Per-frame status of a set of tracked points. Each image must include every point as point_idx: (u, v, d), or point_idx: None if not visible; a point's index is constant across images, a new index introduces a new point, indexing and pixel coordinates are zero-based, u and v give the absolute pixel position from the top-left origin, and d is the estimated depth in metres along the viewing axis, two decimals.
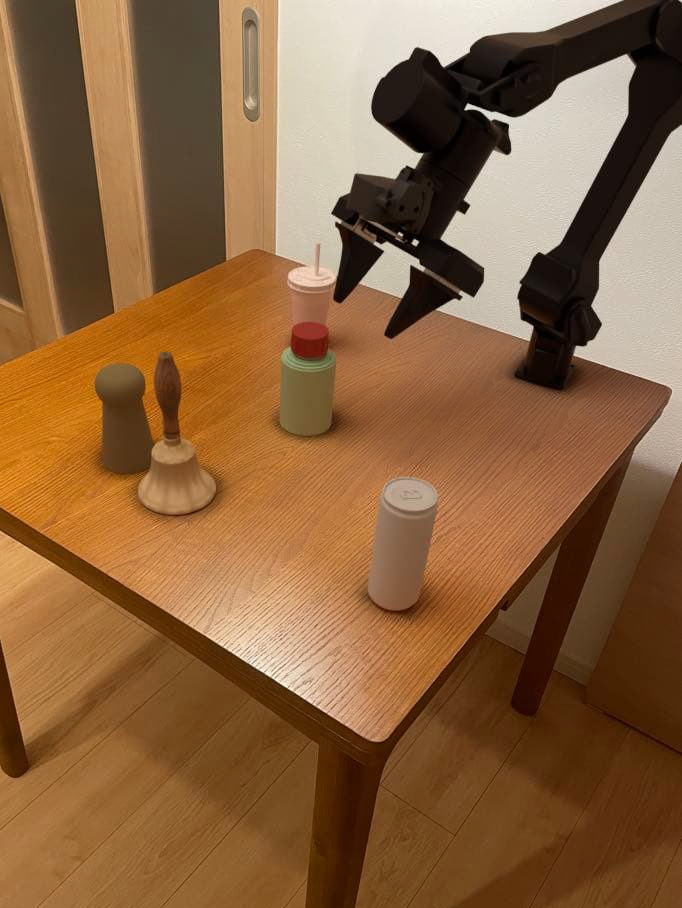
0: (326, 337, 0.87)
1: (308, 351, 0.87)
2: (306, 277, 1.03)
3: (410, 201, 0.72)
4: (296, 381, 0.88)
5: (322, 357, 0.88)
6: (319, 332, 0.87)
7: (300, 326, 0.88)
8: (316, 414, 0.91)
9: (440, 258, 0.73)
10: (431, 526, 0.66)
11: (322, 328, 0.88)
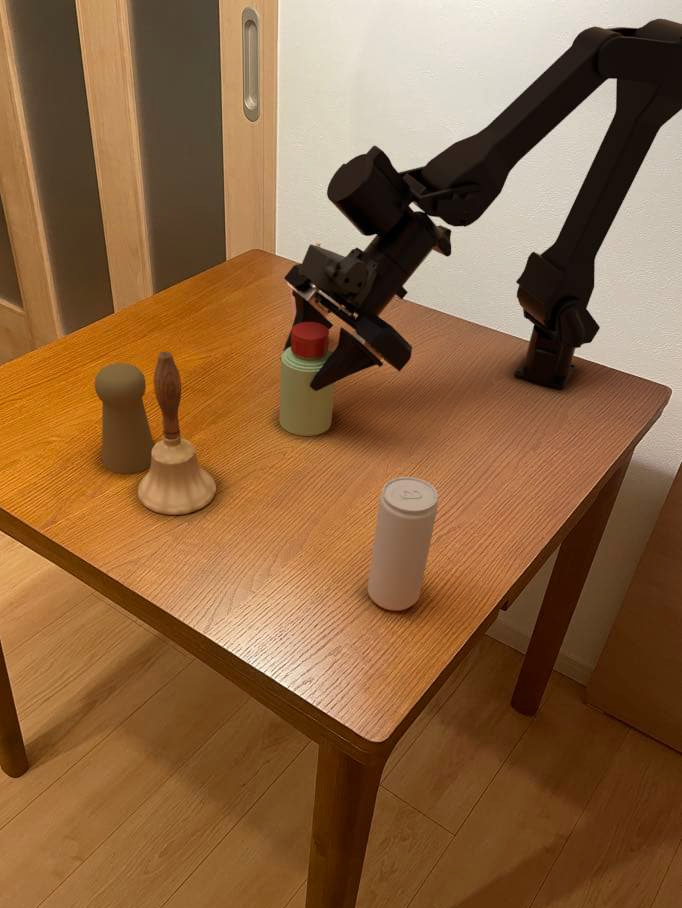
0: (326, 337, 0.87)
1: (308, 351, 0.87)
2: None
3: (355, 276, 0.81)
4: (296, 382, 0.88)
5: (322, 357, 0.88)
6: (319, 332, 0.87)
7: (300, 326, 0.88)
8: (316, 414, 0.91)
9: (374, 330, 0.81)
10: (431, 526, 0.66)
11: (322, 328, 0.88)
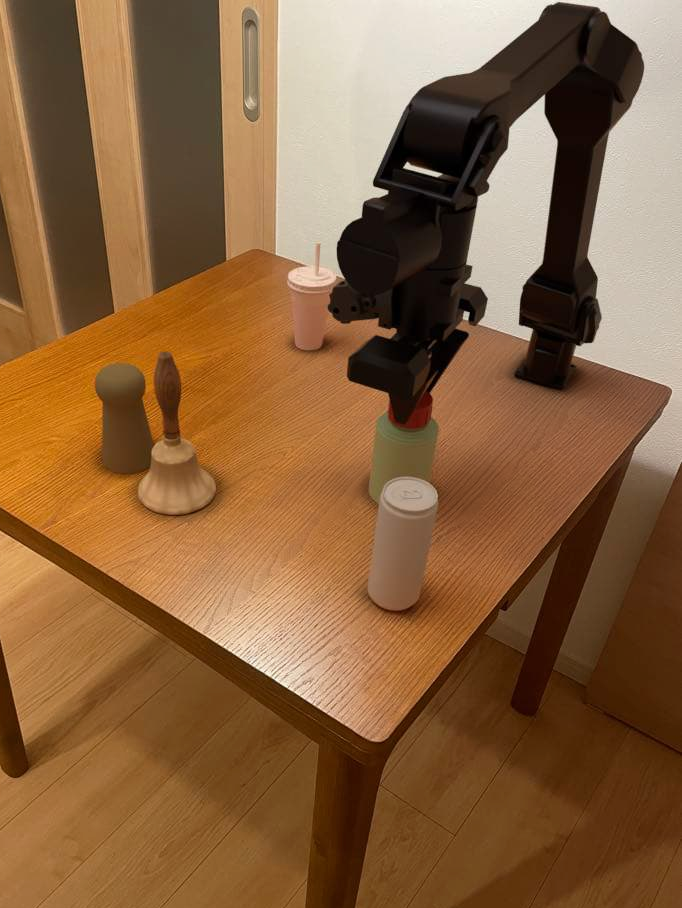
0: (430, 406, 0.77)
1: (410, 422, 0.77)
2: (306, 277, 1.03)
3: (341, 302, 0.70)
4: (395, 454, 0.79)
5: (424, 427, 0.78)
6: (422, 400, 0.77)
7: None
8: None
9: None
10: (431, 526, 0.66)
11: (425, 395, 0.78)
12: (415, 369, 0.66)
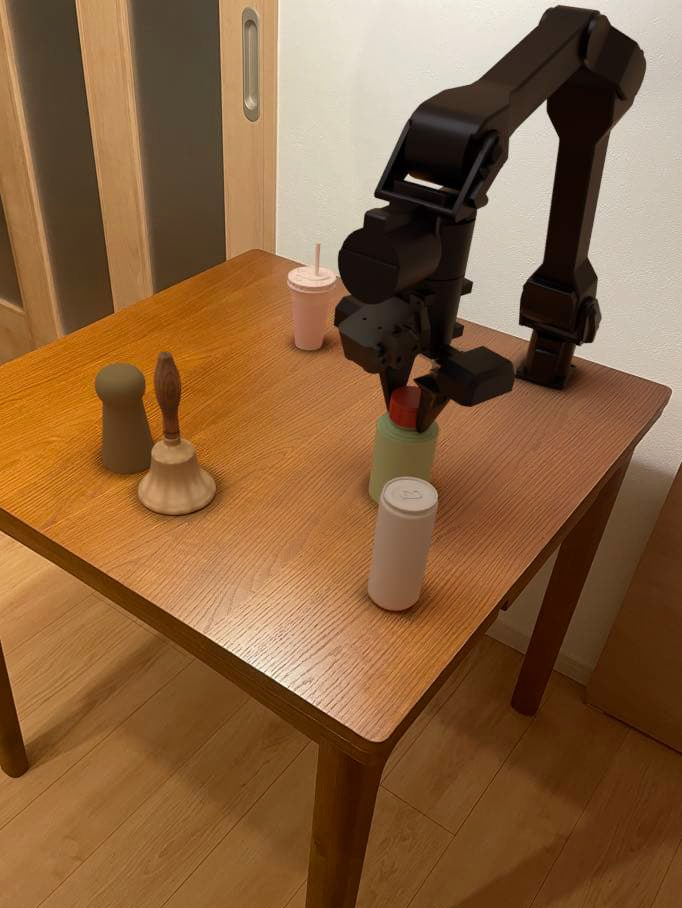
0: None
1: None
2: (306, 277, 1.03)
3: (405, 349, 0.66)
4: (395, 454, 0.79)
5: None
6: (420, 392, 0.78)
7: (400, 399, 0.77)
8: None
9: (459, 389, 0.67)
10: (431, 526, 0.66)
11: (411, 388, 0.79)
12: None
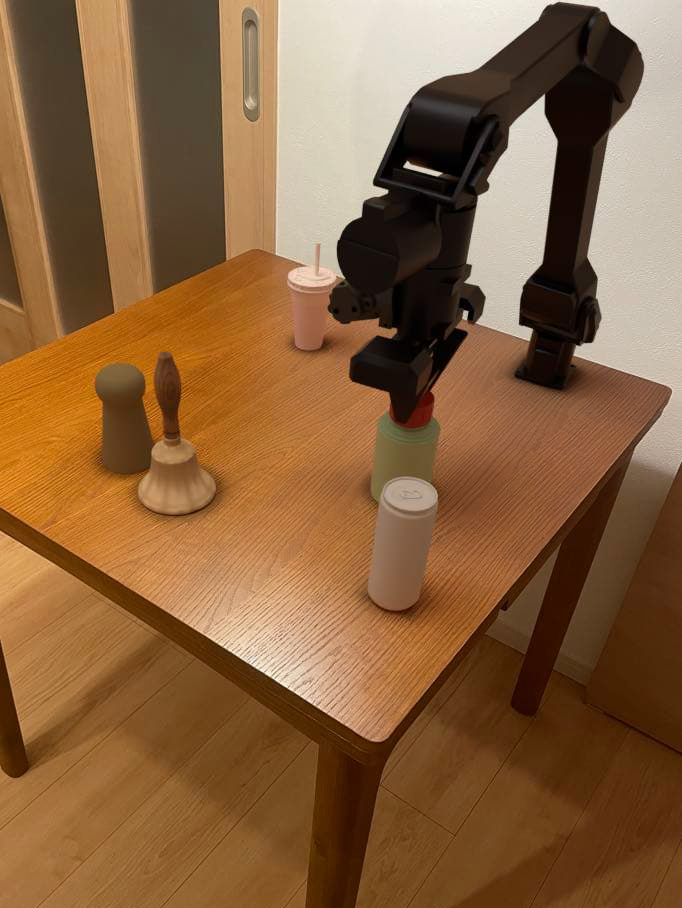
0: None
1: None
2: (306, 277, 1.03)
3: (342, 303, 0.70)
4: (396, 455, 0.78)
5: (425, 427, 0.78)
6: None
7: None
8: None
9: None
10: (431, 526, 0.66)
11: None
12: (418, 369, 0.66)
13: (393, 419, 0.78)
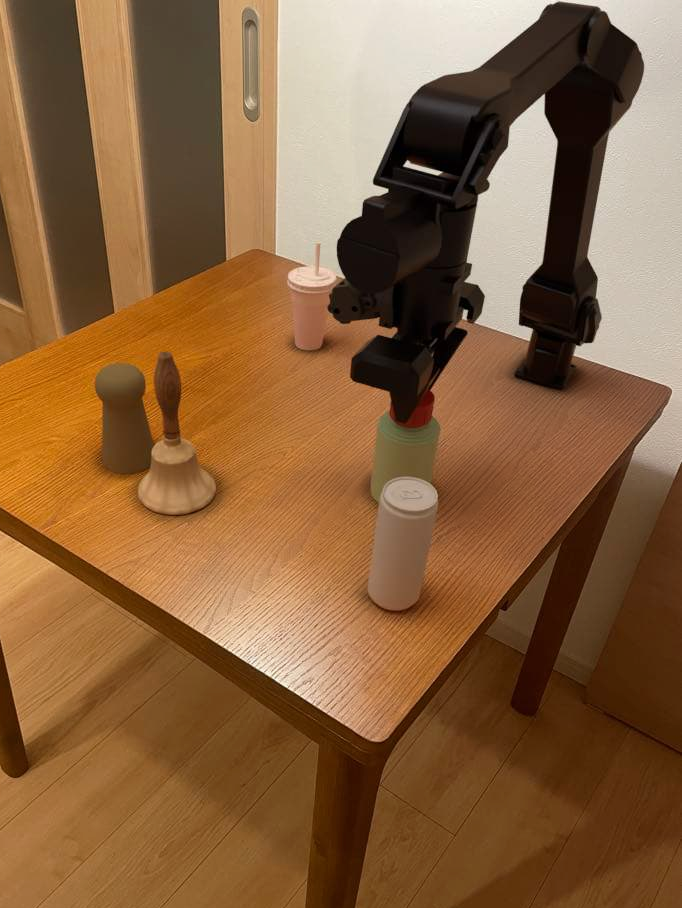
0: None
1: None
2: (306, 277, 1.03)
3: (342, 303, 0.70)
4: (396, 455, 0.78)
5: (425, 427, 0.78)
6: None
7: (427, 398, 0.77)
8: None
9: None
10: (431, 526, 0.66)
11: None
12: (419, 368, 0.66)
13: (415, 425, 0.77)
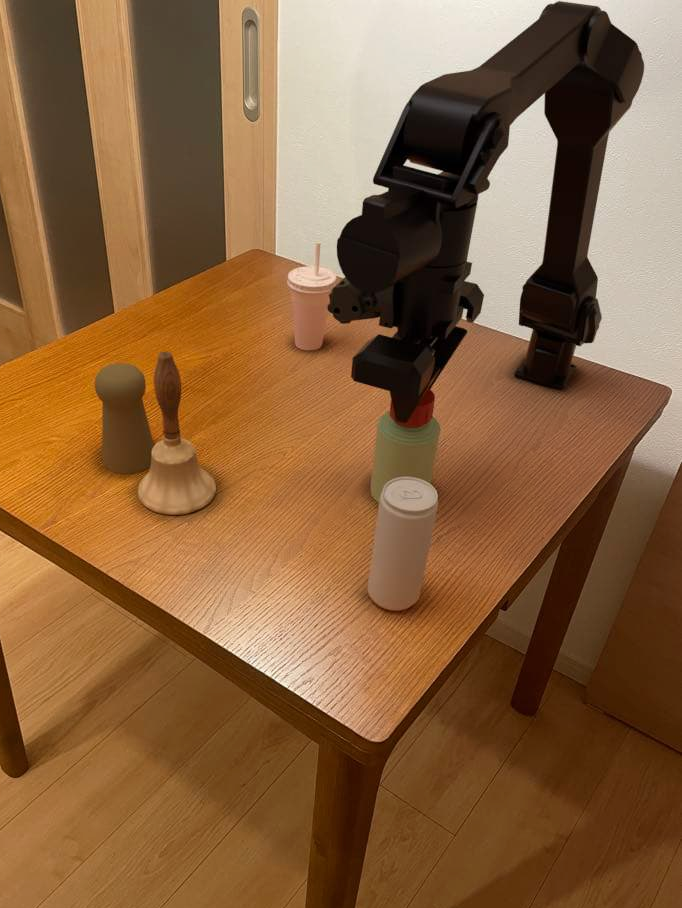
0: None
1: (390, 405, 0.78)
2: (306, 277, 1.03)
3: (342, 302, 0.70)
4: (396, 455, 0.78)
5: (425, 427, 0.78)
6: None
7: None
8: None
9: None
10: (431, 526, 0.66)
11: None
12: (421, 367, 0.66)
13: (431, 416, 0.78)
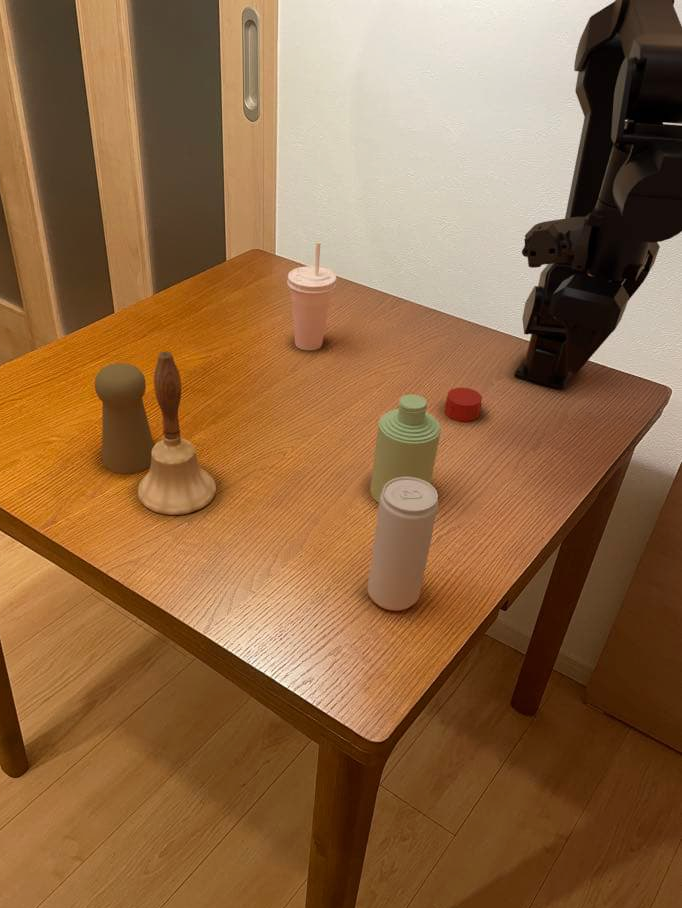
0: (474, 406, 0.95)
1: (454, 413, 0.96)
2: (306, 277, 1.03)
3: (540, 245, 0.76)
4: (397, 453, 0.79)
5: (426, 426, 0.79)
6: (470, 400, 0.95)
7: (459, 390, 0.97)
8: None
9: None
10: (431, 526, 0.66)
11: (477, 398, 0.96)
12: (620, 303, 0.72)
13: None
